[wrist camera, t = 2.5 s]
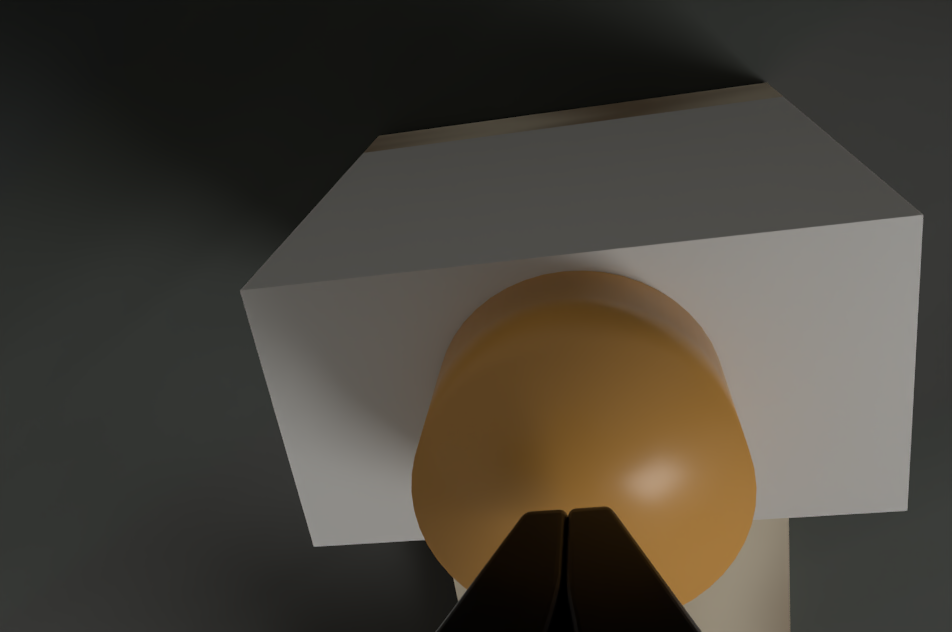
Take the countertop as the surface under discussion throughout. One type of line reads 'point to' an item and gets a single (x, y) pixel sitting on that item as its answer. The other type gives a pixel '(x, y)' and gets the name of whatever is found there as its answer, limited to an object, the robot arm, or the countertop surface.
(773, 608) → the rail track
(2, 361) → the countertop surface
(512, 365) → the plunger
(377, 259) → the cabinet
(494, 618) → the robot arm
